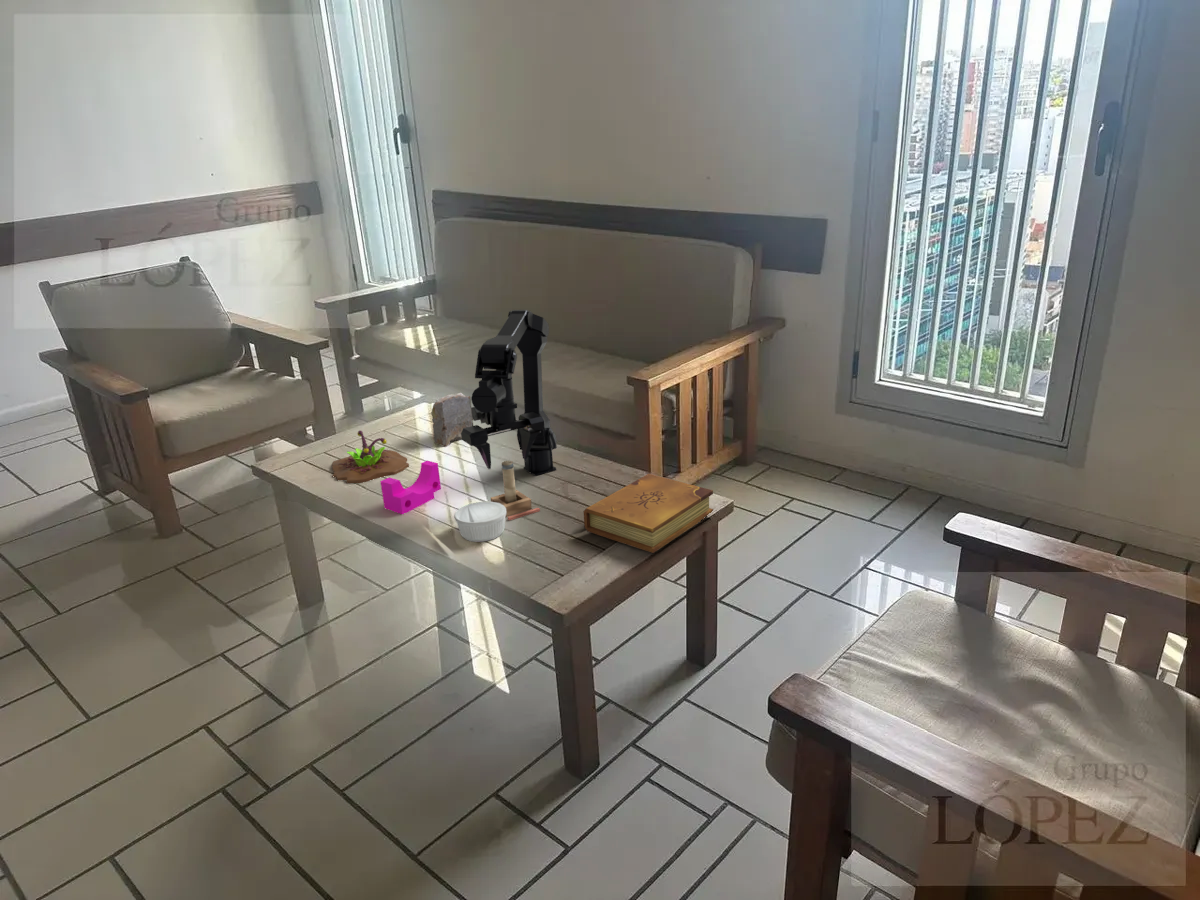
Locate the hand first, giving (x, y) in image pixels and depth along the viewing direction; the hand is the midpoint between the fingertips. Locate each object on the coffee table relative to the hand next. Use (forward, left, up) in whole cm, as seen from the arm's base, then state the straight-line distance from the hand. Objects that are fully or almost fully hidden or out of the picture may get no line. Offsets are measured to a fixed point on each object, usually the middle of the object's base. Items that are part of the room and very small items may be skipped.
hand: (507, 463), depth 194 cm
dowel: (0, 0, -11) cm, 11 cm away
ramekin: (+11, +7, -12) cm, 18 cm away
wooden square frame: (0, 0, -11) cm, 11 cm away
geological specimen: (-8, -50, -12) cm, 52 cm away
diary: (-22, +25, -12) cm, 35 cm away
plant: (+18, -46, -12) cm, 51 cm away
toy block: (+16, -19, -12) cm, 27 cm away
